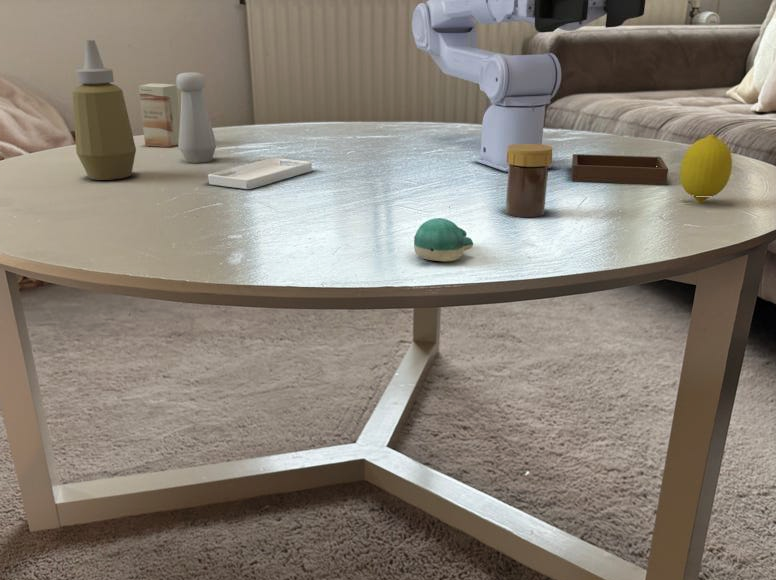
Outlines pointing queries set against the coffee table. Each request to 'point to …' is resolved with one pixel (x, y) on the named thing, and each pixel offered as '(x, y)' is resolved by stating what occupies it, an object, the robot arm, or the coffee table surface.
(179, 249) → the coffee table surface
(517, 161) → the jar lid
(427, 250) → the whale figurine
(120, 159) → the squeeze bottle
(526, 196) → the jar
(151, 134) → the cream carton box
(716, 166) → the lemon
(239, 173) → the phone case
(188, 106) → the salt shaker
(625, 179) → the tray
